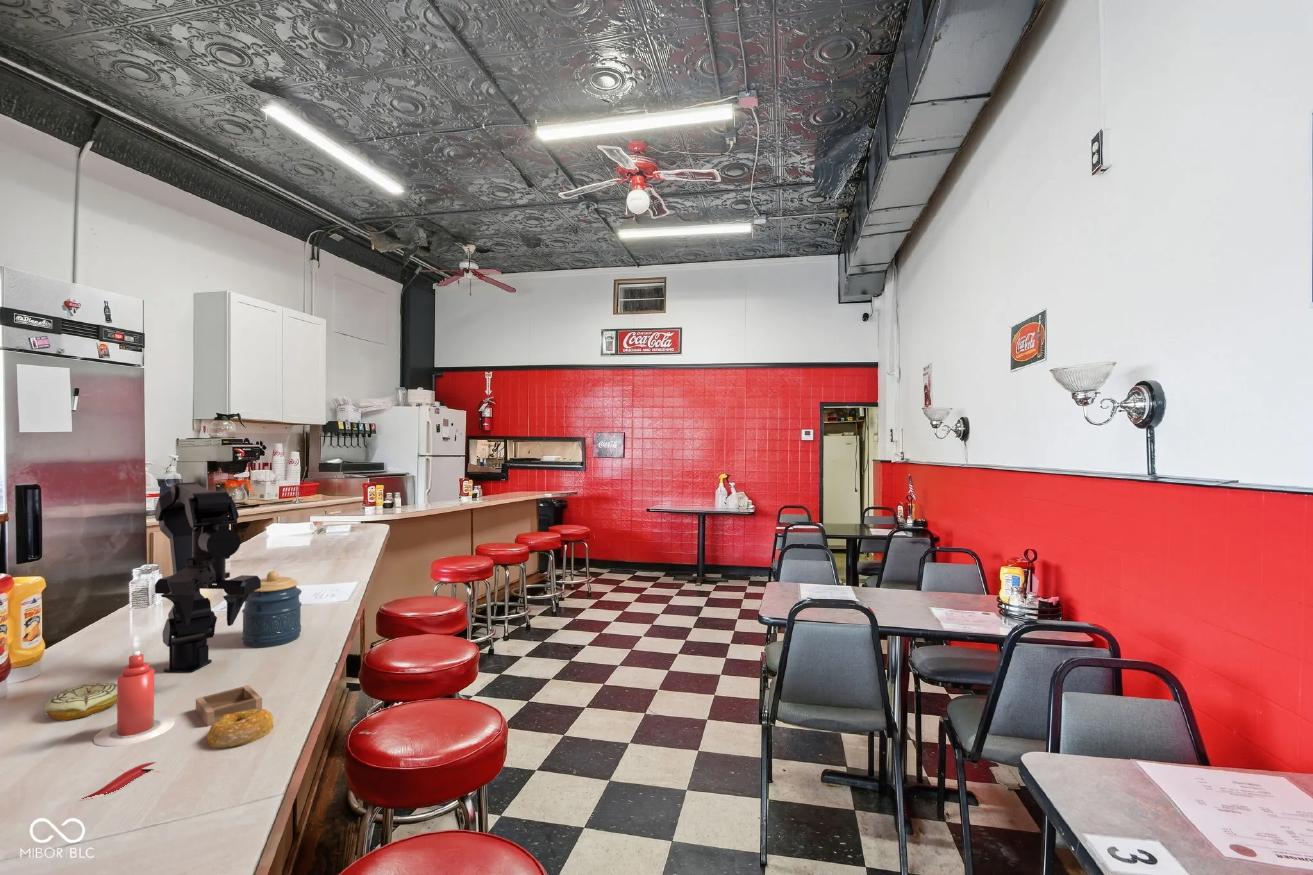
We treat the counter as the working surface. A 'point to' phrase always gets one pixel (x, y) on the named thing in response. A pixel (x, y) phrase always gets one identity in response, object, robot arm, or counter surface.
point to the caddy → (227, 703)
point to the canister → (272, 612)
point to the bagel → (240, 728)
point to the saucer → (113, 739)
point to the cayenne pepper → (123, 779)
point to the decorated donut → (82, 701)
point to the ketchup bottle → (135, 697)
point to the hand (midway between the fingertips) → (208, 625)
